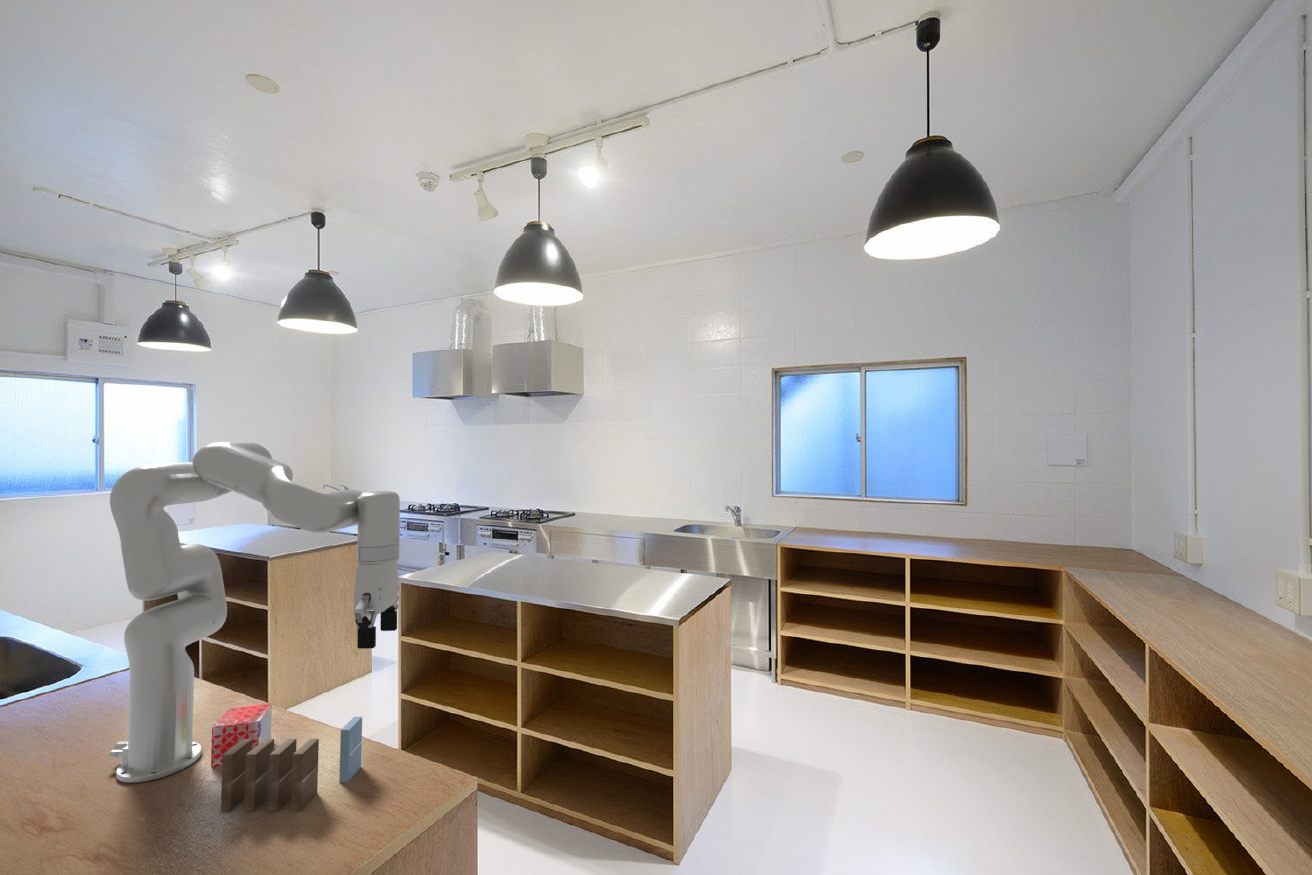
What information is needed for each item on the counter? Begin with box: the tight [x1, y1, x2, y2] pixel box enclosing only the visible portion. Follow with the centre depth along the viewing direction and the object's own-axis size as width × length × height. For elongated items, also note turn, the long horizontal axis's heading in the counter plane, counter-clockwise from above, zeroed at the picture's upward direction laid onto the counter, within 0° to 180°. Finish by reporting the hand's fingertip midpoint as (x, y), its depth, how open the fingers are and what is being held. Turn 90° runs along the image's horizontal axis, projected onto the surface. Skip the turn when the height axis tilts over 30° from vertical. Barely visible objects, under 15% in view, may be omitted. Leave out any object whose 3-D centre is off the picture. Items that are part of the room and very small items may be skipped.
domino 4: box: [291, 738, 320, 812], centre depth 97 cm, size 2×5×10 cm, turn 3°
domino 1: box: [220, 739, 252, 813], centre depth 97 cm, size 2×5×10 cm, turn 3°
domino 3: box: [267, 738, 298, 813], centre depth 97 cm, size 2×5×10 cm, turn 3°
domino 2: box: [244, 738, 275, 813], centre depth 97 cm, size 2×5×10 cm, turn 3°
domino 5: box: [338, 716, 363, 784], centre depth 106 cm, size 2×5×10 cm, turn 3°
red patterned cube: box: [210, 702, 273, 768], centre depth 112 cm, size 8×8×8 cm
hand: (378, 638), depth 108 cm, fingers open, 9 cm apart
